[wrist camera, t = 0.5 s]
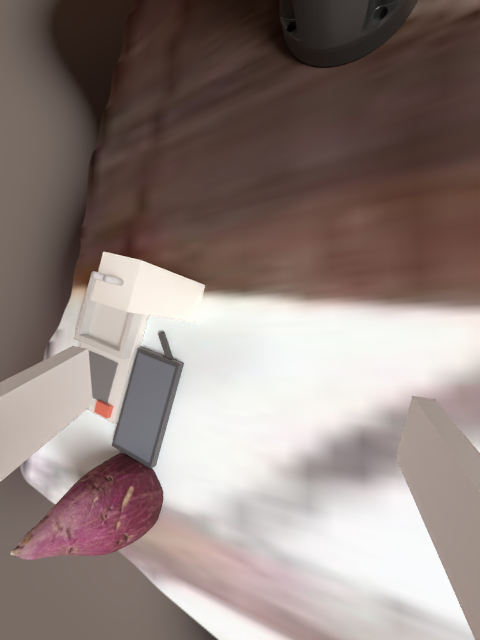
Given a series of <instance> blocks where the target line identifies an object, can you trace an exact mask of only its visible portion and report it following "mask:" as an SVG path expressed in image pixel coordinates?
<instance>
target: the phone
mask: <svg viewBox="0 0 480 640" xmlns="http://www.w3.org/2000/svg"><path fill="white" fill-rule="evenodd" d="M183 364H184V363H182V362H179V361H177V360H174V359H169V358H166V356H164V355H161V354H159V353H156V352H153V351H151V350H148V349H146V348H138V350H137V354H136V358H135V362H134V365H133V369H132V373H131V376H130V380H129V384H128V387H127V391H126V395H125V399H124V402H123V406H122V410H121V413H120V417H119V421H118V424H117V428H116V432H115V435H114V439H113V443H112V446H113V447H115V448H117V449H118V450H120V451H122V452H123V453H125V454H127V455H128V456H130V457H132V458H134V459H135V460H137V461H139V462H140V463H142V464H144V465H145V466H147V467H149V468H150V469H151V468H153V467H154V466H156V463H157V459H158V455H159V452H160V448H161V444H162V441H163V437H164V434H165V430H166V426H167V423H168V419H169V415H170V412H171V408H172V404H173V401H174V397H175V393H176V390H177V386H178V382H179V379H180V375H181V372H182V368H183Z"/></svg>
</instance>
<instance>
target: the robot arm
mask: <svg viewBox="0 0 480 640" xmlns="http://www.w3.org/2000/svg"><path fill="white" fill-rule="evenodd" d="M416 2H417V0H280V2H279V15H280V23H281V27H282V31H283V35H284V38H285V42H286V45H287V47H288V49H289V50H290V52H291V53H292V54H293V55H294V56H295V57H296V58H297V59H298V60H300V61H302V62H304V63H306V64H309V65H313V66H319V67H329V66H337V65H341V64H345V63H348V62H351V61H354V60H356V59H358V58H361V57H363V56H365V55H366V54H368V53H370V52H372V51H373V50H375V49H376V48H378V47H379V46H380V45H382V44H383V43H384V42H385V41H387V40H388V39H389V38H390V37H391V36H392V35H393V34H394V33H395V32H396V31H397V30H398V29H399V28H400V27H401V26H402V24H403V23H404V22H405V20H406V19H407V18H408V16H409V15H410V13H411V12H412V10H413V8H414V6H415V4H416ZM91 405H93V398H92V386H91V373H90V361H89V349H88V348H81V347H74V346H72V347H70V348H68V349H66V350H64V351H62V352H60V353H58V354H56V355H54V356H52V357H50V358H48V359H46V360H44V361H42V362H40V363H38V364H36V365H34V366H32V367H30V368H28V369H26V370H24V371H22V372H20V373H19V374H16V375H14V376H12V377H10V378H8V379H6V380H4V381H3V382H0V481H2V480H3V479H4V478H5V477H6V476H8V475H9V474H10V473H11V472H12V471H13V470H15V469H16V468H17V467H18V466H20V465H21V464H22V463H23V462H24V461H26V460H27V459H28V458H29V457H30V456H32V455H33V454H34V453H35V452H36V451H38V450H39V449H40V448H41V447H42V446H44V445H45V444H46V443H47V442H48V441H50V440H51V439H52V438H53V437H54V436H56V435H57V434H58V433H59V432H60V431H62V430H63V429H64V428H65V427H66V426H68V425H69V424H70V423H71V422H72V421H73V420H75V419H76V418H77V417H78V416H79V415H81V414H82V413H83V412H84V411H85V410H87V409H88V408H89V407H90V406H91ZM396 459H397V461H398V464H399V466H400V468H401V471H402V473H403V475H404V478H405V480H406V482H407V484H408V487H409V489H410V491H411V494H412V496H413V498H414V500H415V503H416V505H417V507H418V510H419V512H420V514H421V516H422V519H423V521H424V523H425V526H426V528H427V530H428V533H429V535H430V537H431V539H432V542H433V544H434V546H435V549H436V551H437V553H438V555H439V558H440V560H441V562H442V565H443V567H444V569H445V571H446V574H447V576H448V578H449V581H450V583H451V585H452V587H453V590H454V592H455V594H456V597H457V599H458V601H459V604H460V606H461V608H462V610H463V613H464V615H465V617H466V620H467V622H468V624H469V626H470V629H471V631H472V633H473V636H474V638H475V640H480V453H479V452H478V451H477V449H476V448H475V447H474V446H473V445H472V443H471V442H470V441H469V440H468V439H467V437H466V436H465V435H464V434H463V432H462V431H461V430H460V429H459V428H458V426H457V425H456V424H455V423H454V422H453V420H452V419H451V418H450V417H449V416H448V414H447V413H446V412H445V411H444V409H443V408H442V407H441V406H440V405H439V403H438V402H437V401H436V400H435V399H429V398H422V397H415V396H412V400H411V404H410V407H409V411H408V415H407V419H406V422H405V426H404V430H403V434H402V437H401V441H400V445H399V449H398V453H397V456H396Z"/></svg>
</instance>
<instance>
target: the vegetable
mask: <svg viewBox="0 0 480 640" xmlns="http://www.w3.org/2000/svg"><path fill="white" fill-rule="evenodd" d="M162 503H163V490H162V487H161V485H160V483H159V480H158V478H157V477H156V475H155V472H154V471H153V469H152V468H151V469H150V468H149V467H147V466H145V465H144V464H142V463H140V462H139V461H137V460H135V459H134V458H132V457H130V456H128V455H127V454H125V453H124V454H118V455H116V456H114V457H112V458H110V459H109V460H107V461H105V462H104V463H103V464H101V465H99V466H97V467H95V468H94V469H92V470H91V471H90V472H88V473H87V474H86V475H84V476H83V477H82V478H81V479H79V481H78V482H77V483H76V484H74V486H73V487H72V488H71V489H70V490H69V491H68V492H67V493H66V494H65V495H64V496H63V497H62V498H61V499H60V500H59V502H58V503H57V504H56V505H55V506H54V507H53V508H52V509H51V510H50V511H49V513H48V514H47V515H46V516H45V517H44V518H43V519H42V520H41V521H40V522H39V523H38V524H37V525H36V526H35V527H34V528H33V529H31V530H30V531H29V532H28V533H27V534H26V535H25V536H24V537H23V538H22V539H21V540H20V542H19V543H18V545H17V547H16V548H15V549H13V550H11V552H10V554H11V555H13V556H15V557H19V558H21V559H26V560H34V559H38V558H45V557H51V556H60V555H79V556H96V555H104V554H109V553H112V552H115V551H117V550H119V549H121V548H123V547H125V546H127V545H129V544H131V543H133V542H134V541H136V540H138V539H139V538H141V537H142V536H143V535H144V534H146V533H147V532H148V531H149V530H150V529H151V528H152V527H153V526H154V524H155V523H156V521H157V520H158V517H159V514H160V511H161V507H162Z"/></svg>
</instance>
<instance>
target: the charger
mask: <svg viewBox="0 0 480 640" xmlns="http://www.w3.org/2000/svg"><path fill="white" fill-rule="evenodd" d="M91 278H92V279H96V282H95V285H94V289H93V293H92V297H91V300H92V301H95V302H98V303H101V304H104V305H107V306H110V307H113V308H116V309H119V310H122V311H125V312H130V313H137V314H143V315H150V316H156V317H163V318H169V319H176V320H182V321H189V322H195V321H196V317H197V314H198V310H199V306H200V303H201V299H202V295H203V292H204V288H205V285H203V284H201V283H198V282H196V281H193V280H191V279H188V278H185V277H183V276H180V275H178V274H175V273H173V272H170V271H167V270H165V269H162V268H160V267H157V266H155V265H152V264H150V263H147V262H144V261H142V260H138V259H134V258H129V257H125V256H121V255H116V254H112V253H108V252H103V255H102V259H101V263H100V266H99V270H98V272H95V271H93V272H92V273H91Z"/></svg>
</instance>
